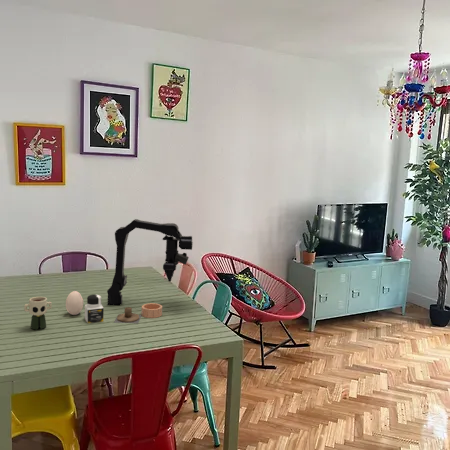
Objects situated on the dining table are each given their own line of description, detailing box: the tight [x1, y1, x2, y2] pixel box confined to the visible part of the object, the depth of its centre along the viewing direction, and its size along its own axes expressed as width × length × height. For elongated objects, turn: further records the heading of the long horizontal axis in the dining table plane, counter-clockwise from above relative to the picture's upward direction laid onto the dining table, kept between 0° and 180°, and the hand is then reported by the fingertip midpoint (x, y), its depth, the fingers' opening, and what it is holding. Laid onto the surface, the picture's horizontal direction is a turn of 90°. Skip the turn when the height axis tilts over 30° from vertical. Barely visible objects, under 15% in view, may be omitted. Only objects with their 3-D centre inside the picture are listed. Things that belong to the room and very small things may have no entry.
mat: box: [113, 313, 143, 325], centre depth 212 cm, size 11×11×1 cm
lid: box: [116, 306, 140, 322], centre depth 212 cm, size 10×10×5 cm
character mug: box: [23, 296, 53, 330], centre depth 197 cm, size 11×7×13 cm, turn 119°
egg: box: [65, 290, 84, 316], centre depth 215 cm, size 8×8×11 cm
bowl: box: [140, 302, 163, 319], centre depth 219 cm, size 10×10×4 cm
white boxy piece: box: [84, 294, 105, 324], centre depth 208 cm, size 7×7×12 cm
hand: (170, 278), depth 231 cm, fingers open, 9 cm apart
